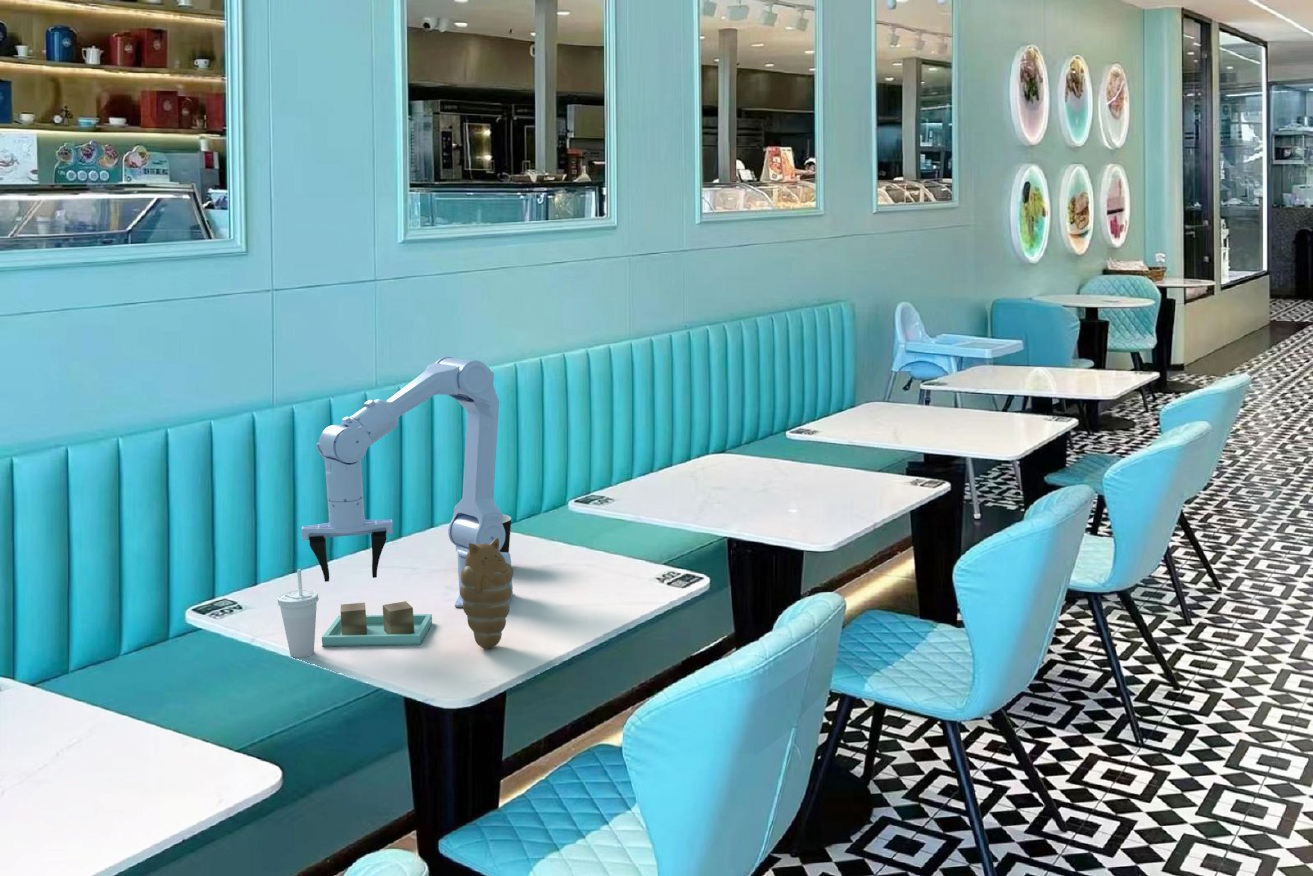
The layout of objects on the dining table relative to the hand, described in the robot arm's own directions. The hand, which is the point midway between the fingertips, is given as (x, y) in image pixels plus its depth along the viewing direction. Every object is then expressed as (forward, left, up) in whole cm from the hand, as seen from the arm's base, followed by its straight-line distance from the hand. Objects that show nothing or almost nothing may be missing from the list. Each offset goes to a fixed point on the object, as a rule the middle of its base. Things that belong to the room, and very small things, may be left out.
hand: (350, 578), depth 218 cm
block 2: (-7, 0, -10) cm, 12 cm away
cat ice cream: (-24, +7, -10) cm, 27 cm away
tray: (-4, 0, -10) cm, 11 cm away
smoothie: (+6, +8, -10) cm, 15 cm away
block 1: (0, 0, -10) cm, 10 cm away
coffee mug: (-17, -39, -10) cm, 43 cm away
